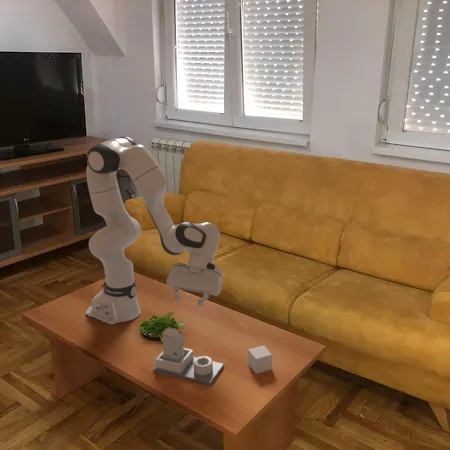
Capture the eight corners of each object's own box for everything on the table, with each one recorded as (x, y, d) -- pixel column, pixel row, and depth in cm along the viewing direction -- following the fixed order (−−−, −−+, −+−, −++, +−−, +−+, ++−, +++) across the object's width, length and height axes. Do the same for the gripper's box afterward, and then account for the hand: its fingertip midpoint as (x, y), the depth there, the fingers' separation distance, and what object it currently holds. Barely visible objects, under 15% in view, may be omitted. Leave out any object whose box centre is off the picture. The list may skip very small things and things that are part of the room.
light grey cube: (256, 374, 171) (255, 358, 168) (248, 364, 176) (247, 349, 174) (272, 369, 173) (272, 354, 171) (263, 360, 178) (263, 345, 176)
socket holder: (153, 371, 173) (152, 360, 171) (169, 353, 182) (168, 342, 181) (210, 385, 165) (209, 374, 164) (223, 366, 175) (223, 355, 173)
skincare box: (163, 363, 175) (160, 332, 171) (170, 356, 179) (168, 326, 174) (177, 368, 172) (176, 337, 168) (185, 361, 176) (183, 331, 171)
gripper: (170, 258, 186) (158, 294, 181) (222, 267, 178) (211, 305, 173) (176, 265, 191) (165, 300, 186) (227, 273, 183) (216, 310, 178)
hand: (187, 302), depth 179 cm, fingers open, 8 cm apart
